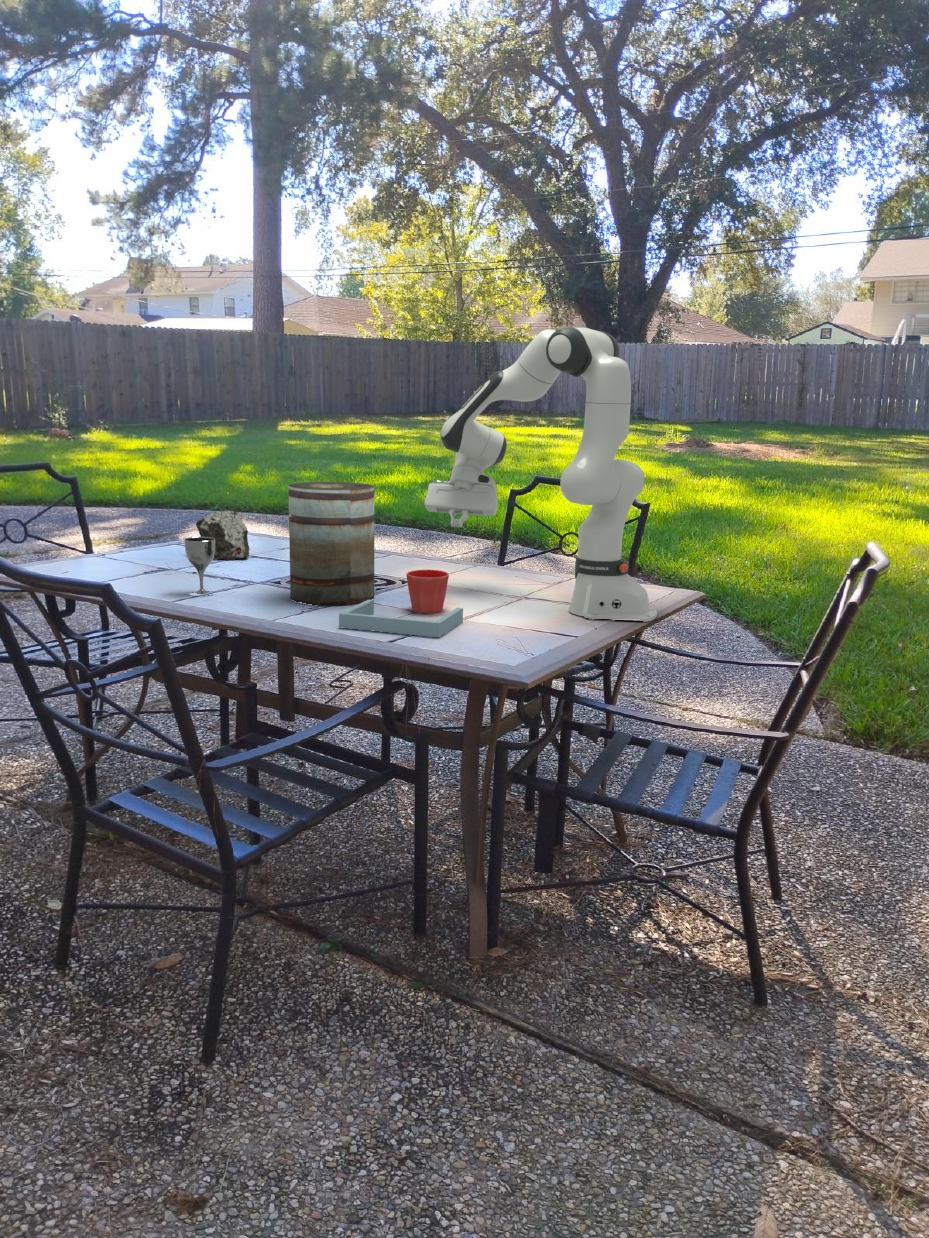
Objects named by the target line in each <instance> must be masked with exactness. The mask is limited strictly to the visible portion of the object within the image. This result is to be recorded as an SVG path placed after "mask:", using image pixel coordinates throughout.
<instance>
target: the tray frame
mask: <svg viewBox="0 0 929 1238" xmlns="http://www.w3.org/2000/svg"><path fill="white" fill-rule="evenodd" d="M373 613H374V614H375V600H374V599H373V600H366V601H364V602H362V603H360V604H357V605H353V606H352V607H350V608H347V609H346V610H344V611H342V612H339V613H338V628H339V627H343V628H351V629H350V630H352V629H359V630H358V631H362V630H374V631H382V632H389V633H388V634H392V633H401V634H400V635H402V634H409V635H408V636H412V635H418V636H417V637H422V636H427V637H426V638H432V637H440V638H441V636H442V635H443V634H445V633H446V634H448V633H449V632H450V631H451V630H452V631H453V629H455V628H456V627H457V626H459V625H461V624H462V623H463V622H464V621H463V620H464V607H455V608H454V609H453V610H451V611H449V612H448V613H446V614H444V615H443V616H441V617H440V618H438V619H436V620H427V619H426V620H423V619H416V618H415V619H414V618H403V617H393V616H383V615H374V614H373ZM371 614H372V615H371ZM460 623H461V624H460ZM449 630H450V631H449ZM448 631H449V632H448ZM382 632H381V633H382ZM447 632H448V633H447ZM446 634H445V635H446ZM443 636H444V635H443ZM443 636H442V637H443Z"/></svg>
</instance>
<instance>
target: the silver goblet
mask: <svg viewBox="0 0 929 1238" xmlns="http://www.w3.org/2000/svg"><path fill="white" fill-rule="evenodd" d="M184 551H185V554H186V555H185V556H186V558H187V561H188V562H189V563H190V564H191V565H192V566H193V567H194V569H195V570H196V572H197V574H198V579H199V589H198V590H196V591H194V592H195V593H197V594H204V593H208V592H210V591H211V590H206V589H204V575H205V571H206V569H207V568H208V567H209V566H210V564H211V563H212V562H213V560H214V558H215V556H214V554H215V538H212V537H201V536H191V537H185V538H184Z"/></svg>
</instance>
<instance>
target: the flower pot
mask: <svg viewBox="0 0 929 1238" xmlns="http://www.w3.org/2000/svg"><path fill="white" fill-rule="evenodd" d="M405 575H406V582H407V589H408V593H409V599H410V600H409V601H410V603H411V609H412V611H413V612H414V613H419V614H438V613H440V612H442V611H443V609H444V604H445V599H446V595H447V588H448V583H449V578H450V577H449V576H450V574H449V573H448V572H447V571H443V570H439V569H438V570H437V569H416V570H410V571H407V572H406V573H405Z"/></svg>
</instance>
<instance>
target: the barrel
mask: <svg viewBox="0 0 929 1238" xmlns="http://www.w3.org/2000/svg"><path fill="white" fill-rule="evenodd" d="M288 530H289V531H288V534H289V535H288V536H289V537H288V538H289V583H290V585H289V588H290V589H289V591H290V592H289V593H290V594H289V595H290V600H291V599H292V600H294V601H296V602H295V603H297V602H302V603H306V604H312V605H311V606H314V605H318V606H317V607H347V606H348V607H349V606H356V605H358V604H360V603H362V602H364V601H366V600H372V599H373V600H374V599H375V485H373V484H370V483H361V482H351V481H350V482H347V481H310V482H309V481H308V482H296V483H290V484H288ZM292 600H291V601H292ZM294 601H293V602H294ZM306 604H305V605H306Z"/></svg>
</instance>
